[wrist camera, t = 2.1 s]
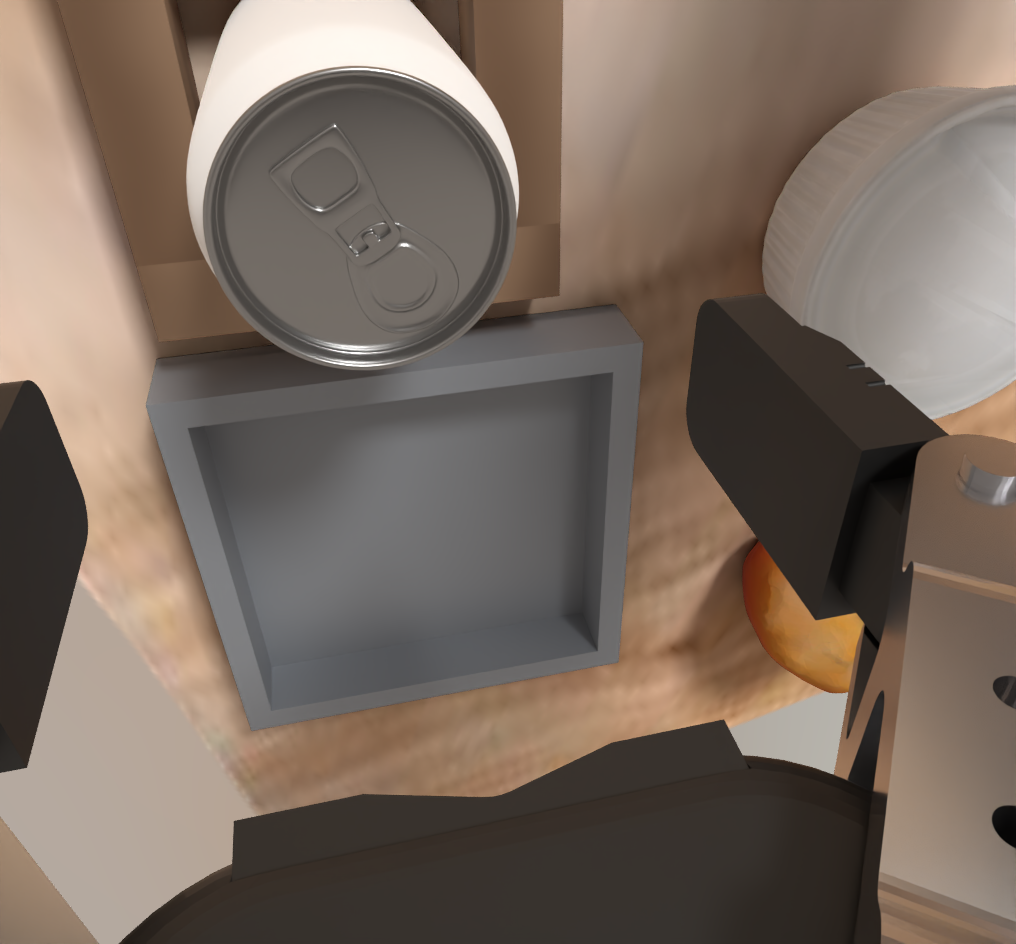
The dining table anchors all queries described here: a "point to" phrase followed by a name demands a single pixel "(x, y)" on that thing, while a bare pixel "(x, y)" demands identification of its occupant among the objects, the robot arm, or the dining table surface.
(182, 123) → the square wooden frame
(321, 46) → the can
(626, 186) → the dining table surface
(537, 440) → the tray
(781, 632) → the fruit
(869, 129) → the ramekin
